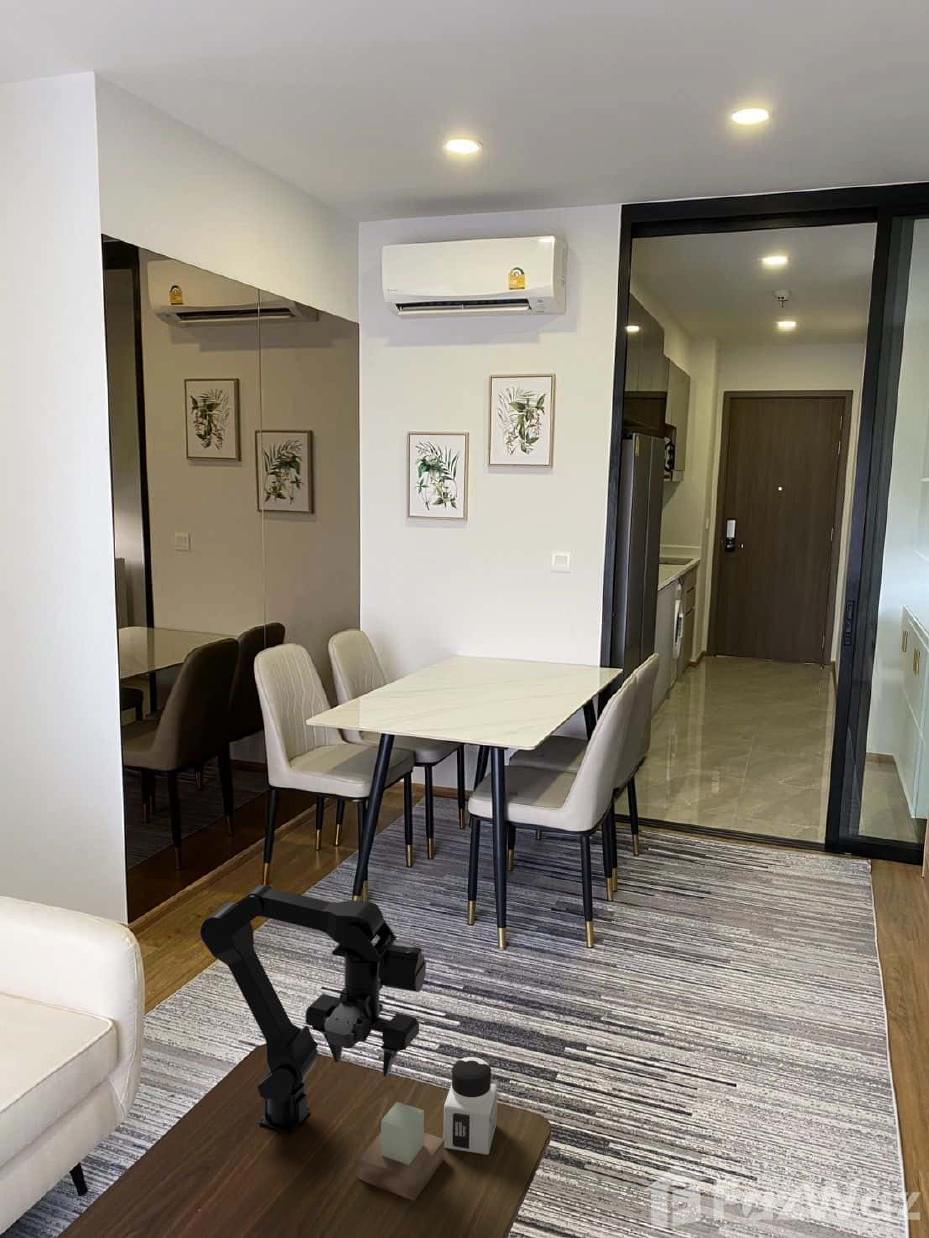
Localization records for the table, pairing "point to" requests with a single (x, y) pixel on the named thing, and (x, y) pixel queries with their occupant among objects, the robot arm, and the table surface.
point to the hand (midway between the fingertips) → (361, 1068)
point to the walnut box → (401, 1167)
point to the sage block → (402, 1133)
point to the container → (470, 1107)
